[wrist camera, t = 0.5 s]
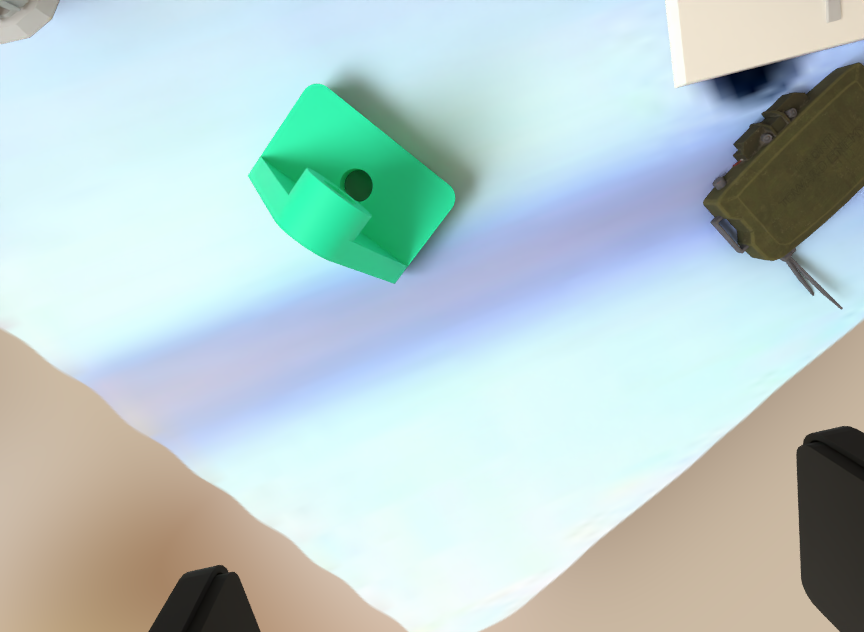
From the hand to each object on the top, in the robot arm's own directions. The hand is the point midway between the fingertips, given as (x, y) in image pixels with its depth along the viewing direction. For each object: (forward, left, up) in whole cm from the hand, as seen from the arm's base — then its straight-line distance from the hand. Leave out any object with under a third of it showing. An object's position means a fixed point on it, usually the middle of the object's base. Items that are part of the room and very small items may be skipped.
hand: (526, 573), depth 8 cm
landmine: (+1, +29, -31) cm, 42 cm away
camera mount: (-7, -4, -30) cm, 32 cm away
